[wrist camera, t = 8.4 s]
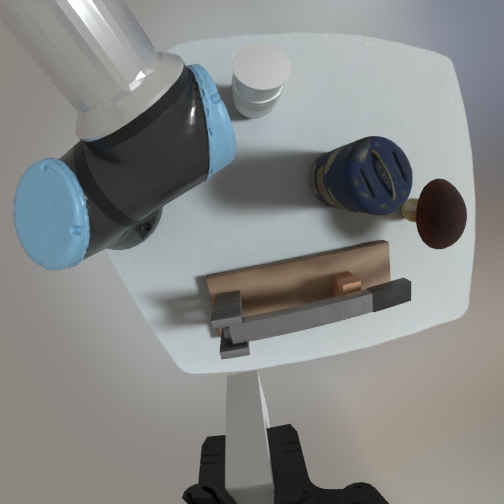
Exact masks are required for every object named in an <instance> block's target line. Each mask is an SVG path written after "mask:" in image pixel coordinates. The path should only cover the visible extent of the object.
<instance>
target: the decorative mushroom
mask: <svg viewBox="0 0 504 504" xmlns="http://www.w3.org/2000/svg"><path fill="white" fill-rule="evenodd" d="M401 211H402V215H403V217H404V218H405V219H407V220H409V221H412V222H416V224H417V229H418V232H419V235H420V237H421V239H422V240H423V242H424V243H425V244H426V245H428V246H429V247H431V248H434V249H444V248H447V247H449V246H451V245H453V244H454V243H455V242H457V240H458V239H459V238H460V237H461V235H462V233H463V231H464V229H465V225H466V220H467V211H466V206H465V203H464V200H463V198H462V196H461V195H460V193H459V192H458V190H457V189H456V188H455V187H454V186H453V185H452V184H451V183H450V182H448V181H446V180H444V179H435V180H432V181H431V182H429V183H428V184H427V185H426V186H425V187H424V188H423V190H422V192H421V194H420V197H419V199H414V198H410V199H407V200H406V201H405V203H404V204H403V205H402V208H401Z"/></svg>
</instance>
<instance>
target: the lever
mask: <svg viewBox="0 0 504 504" xmlns="http://www.w3.org/2000/svg"><path fill="white" fill-rule="evenodd" d="M408 301H411V281H409V280H407V279H406V278H401V279H397V280H394V281H390V282H387V283H383V284H380V285H376V286H372V287H369V288H367V289H364V290H361V291H357V292H353V293H349V294H345V295H341V296H337V297H333V298H329V299H325V300H321V301H316V302H312V303H308V304H303V305H299V306H294V307H290V308H285V309H280V310H276V311H271V312H266V313H261V314H256V315H251V316H246V317H242V321H243V324H241V325H235V326H230V327H224V328H223V331H224V335H225V339H226V342H227V345H228V346H236V345H238V344H239V343H243V342H249V341H254V340H259V339H264V338H269V337H274V336H279V335H283V334H288V333H293V332H297V331H301V330H306V329H310V328H314V327H318V326H322V325H326V324H330V323H334V322H338V321H341V320H345V319H349V318H352V317H356V316H360V315H363V314H367V313H370V312H376V311H380V310H383V309H386V308H389V307H393V306H396V305H399V304H402V303H405V302H408Z"/></svg>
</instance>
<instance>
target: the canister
mask: <svg viewBox="0 0 504 504" xmlns="http://www.w3.org/2000/svg"><path fill="white" fill-rule="evenodd" d="M310 182H311V187H312V190H313V192H314V194H315V195H316V196H317V198H318V199H319V200H320V201H321V202H323V203H324V204H326V205H328V206H331V207H334V208H340V209H345V210H348V211H351V212H355V213H356V212H361V213H366V214H372V215H386V214H390V213H392V212H394V211H396V210H398V209H399V208H400V207H401V206H402V205H403V204H404V203H405V201H406V200H407V198H408V197H409V194H410V191H411V187H412V169H411V166H410V163H409V161H408V159H407V157H406V155H405V154H404V152H403V151H402V149H401V148H400V147H398V146H397V145H396V144H395V143H394V142H392V141H391V140H389V139H387V138H384V137H379V136H370V137H365V138H362V139H360V140H357V141H355V142H352V143H350V144H347V145H344V146H341V147H339V148H337V149H334V150H332V151H330V152H327V153H325V154H323V155H322V156H320V157H319V158H318V159H317V160H316V162H315V163H314V165H313V167H312V170H311V175H310Z"/></svg>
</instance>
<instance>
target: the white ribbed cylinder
mask: <svg viewBox="0 0 504 504" xmlns="http://www.w3.org/2000/svg"><path fill="white" fill-rule="evenodd" d="M232 68H233V73H234V74H233V77H232V90H233V102H234V105H235V107H236V108H237V110H238V111H239V112H240V113H241V114H242V115H244V116H246V117H248V118H253V119H254V118H261V117H263V116H265V115H267V114H269V113H270V112H271V111H272V110H273V108H274V107H275V104H276V103H277V101H278V99H279V97H280V95H281V93H282V91H283V87H284V83H285V82H286V81H287V79H288V77H289V75H290V72H291V63H290V60H289V58H288V56H287V55H286V53H285V52H284V51H283V50H282V49H280V48H279V47H277V46H275V45H273V44H270V43H264V42H255V43H251V44H248V45H246V46H244V47H242V48H241V49H240V50H239V51H237V53H236V54H235V56H234V58H233V62H232Z"/></svg>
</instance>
